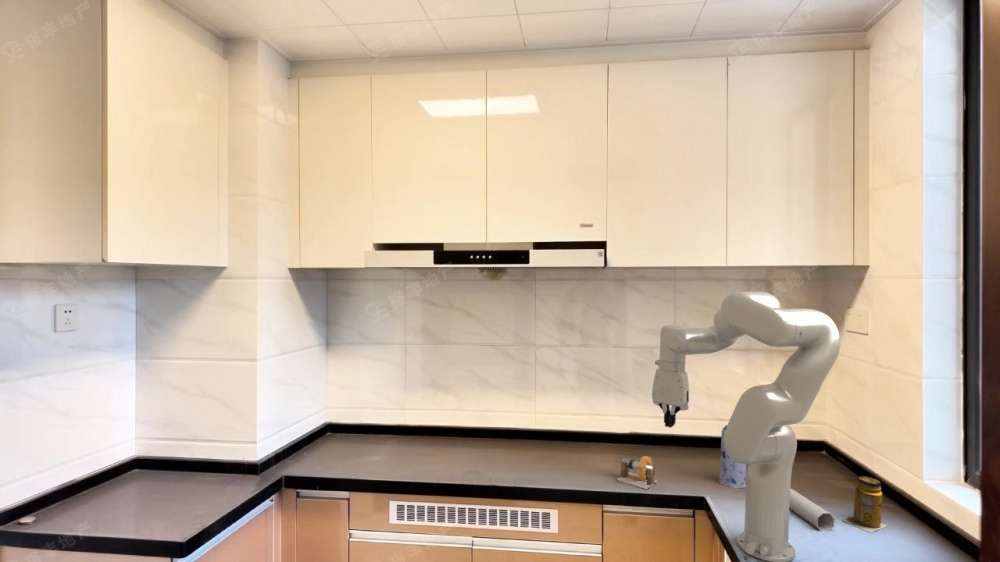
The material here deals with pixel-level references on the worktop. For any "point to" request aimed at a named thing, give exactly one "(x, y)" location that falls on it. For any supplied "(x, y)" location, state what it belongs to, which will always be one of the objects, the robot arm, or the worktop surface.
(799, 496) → the tube
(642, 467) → the o ring
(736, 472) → the aerosol can
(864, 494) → the condiment
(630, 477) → the base board
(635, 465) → the pipe
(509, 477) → the worktop surface
